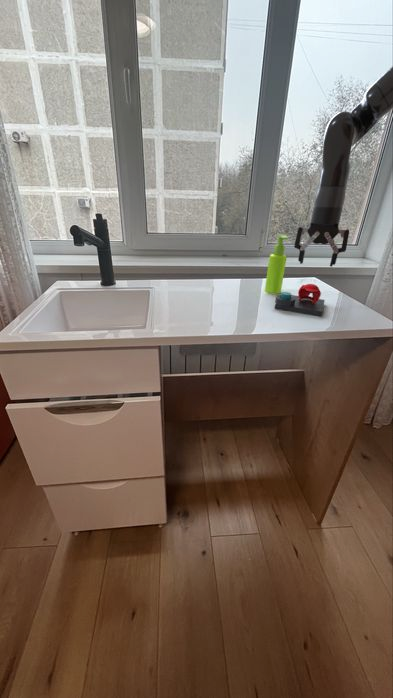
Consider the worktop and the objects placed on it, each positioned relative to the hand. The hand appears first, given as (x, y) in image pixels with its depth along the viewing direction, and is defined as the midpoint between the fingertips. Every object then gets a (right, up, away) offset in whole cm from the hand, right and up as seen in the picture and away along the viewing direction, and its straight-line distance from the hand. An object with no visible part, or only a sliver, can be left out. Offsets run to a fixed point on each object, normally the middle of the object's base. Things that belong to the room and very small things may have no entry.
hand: (316, 264), depth 87 cm
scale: (-3, -12, +6) cm, 14 cm away
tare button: (-8, -10, +4) cm, 13 cm away
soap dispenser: (-8, -5, +20) cm, 22 cm away
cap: (-1, -11, +6) cm, 12 cm away
